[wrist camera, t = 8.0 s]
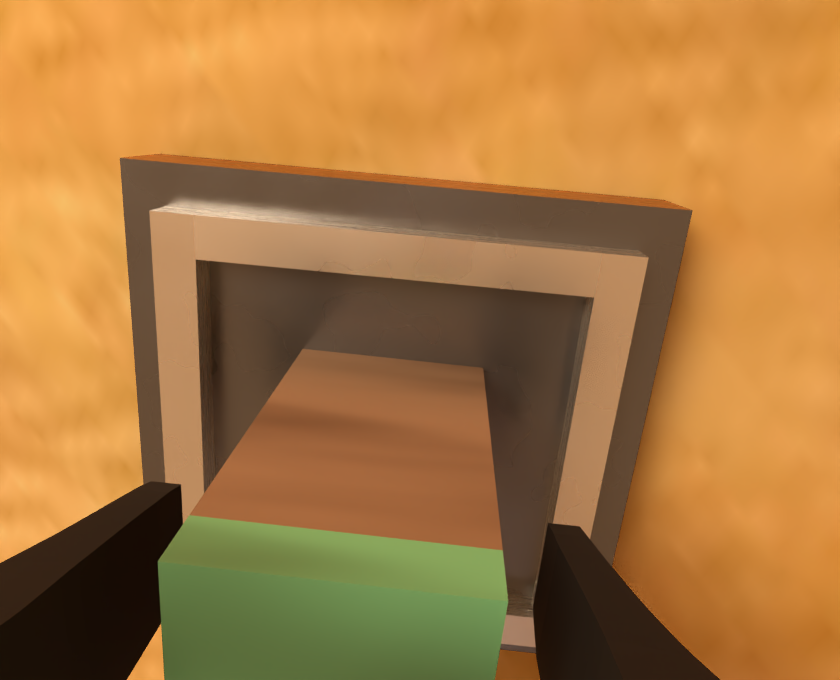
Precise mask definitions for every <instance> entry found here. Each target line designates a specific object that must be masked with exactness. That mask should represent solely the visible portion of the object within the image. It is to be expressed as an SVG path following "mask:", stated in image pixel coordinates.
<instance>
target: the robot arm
mask: <svg viewBox="0 0 840 680" xmlns="http://www.w3.org/2000/svg"><path fill="white" fill-rule="evenodd" d="M182 525H183V513H182V492H181V484H173V483H164V482H154V481H150V482H148V483H146V484H144V485H142V486H140V487H138V488H136V489H134V490H133V491H131V492H129V493H127V494H125V495H124V496H122V497H120V498H118V499H117V500H115V501H113V502H111V503H110V504H108V505H106V506H105V507H103V508H101V509H99V510H98V511H96V512H94V513H92V514H91V515H89V516H87V517H85V518H84V519H82V520H80V521H78V522H77V523H75V524H73V525H71V526H69V527H68V528H66V529H64V530H62V531H61V532H59V533H57V534H55V535H53V536H52V537H50V538H48V539H46V540H44V541H42V542H40V543H38V544H36V545H34V546H32V547H30V548H28V549H27V550H25V551H23V552H21V553H19V554H17V555H15V556H13V557H11V558H9V559H7V560H5V561H4V562H2V563H0V680H127V678H128V676H129V675H130V673H131V672H132V670H133V668H134V667H135V665H136V664H137V662H138V660H139V659H140V657H141V655H142V654H143V652H144V650H145V649H146V647H147V645H148V644H149V642H150V640H151V639H152V637H153V636H154V634H155V632H156V631H157V629H158V627H159V625H160V624H161V610H160V593H159V576H158V560H159V559H160V557H161V556H162V554H163V553H164V551H165V550H166V549H167V547H168V546H169V544H170V543H171V541H172V540H173V538H174V537H175V535H176V534H177V532H178V531H179V529H180V528H181V527H182ZM533 620H534V634H535V645H536V657H537V663H538V669H539V674H540V679H541V680H720V679H719V678H718V677H716V676H715V675H714V674H713V673H712V672H711V671H710V670H709V669H708V668H706V667H705V666H704V665H703V664H702V663H701V662H700V661H699V660H698V659H696V658H695V657H694V656H693V655H692V654H691V653H690V652H689V651H688V650H687V649H686V648H685V647H684V646H683V645H682V644H681V643H680V642H679V641H678V640H677V639H676V638H675V637H674V636H673V635H672V634H671V633H670V632H669V631H668V630H667V629H666V628H665V627H664V626H663V625H662V624H661V623H660V622H659V620H658V619H657V618H656V617H655V616H654V615H653V614H652V613H651V612H650V611H649V610H648V609H647V607H646V606H645V605H644V604H643V603H642V602H641V601H640V600H639V598H638V597H637V596H636V595H635V594H634V593H633V592H632V590H631V589H630V588H629V587H628V586H627V585H626V583H625V582H624V581H623V580H622V579H621V577H620V576H619V575H618V574H617V572H616V571H615V570H614V569H613V567H612V566H611V565H610V564H609V563H608V561H607V560H606V559H605V558H604V556H603V555H602V554H601V552H600V551H599V550H598V549H597V547H596V546H595V545H594V544H593V542H592V541H591V540H590V539H589V537H588V536H587V535H586V534H585V532H584V531H583V530H582V529H581V527H580V526H573V525H563V524H554V523H548V525H547V531H546V536H545V542H544V547H543V553H542V559H541V564H540V570H539V575H538V581H537V586H536V592H535V598H534V603H533Z"/></svg>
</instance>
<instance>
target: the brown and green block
mask: <svg viewBox="0 0 840 680" xmlns="http://www.w3.org/2000/svg"><path fill="white" fill-rule="evenodd" d="M158 576H159V593H160V610H161V627H162V644H163V662H164V679H165V680H495V675H496V670H497V664H498V658H499V652H500V646H501V641H502V635H503V629H504V623H505V617H506V612H507V606H508V594H507V585H506V576H505V567H504V557H503V548H502V539H501V530H500V520H499V511H498V502H497V493H496V483H495V474H494V465H493V456H492V446H491V437H490V428H489V419H488V409H487V400H486V391H485V382H484V372H483V368H480V367H471V366H461V365H452V364H442V363H433V362H423V361H414V360H404V359H395V358H386V357H376V356H367V355H357V354H348V353H338V352H329V351H319V350H310V349H302V351H301V352H300V354H299V355H298V357H297V358H296V360H295V361H294V363H293V364H292V365H291V367H290V368H289V370H288V371H287V373H286V374H285V376H284V377H283V379H282V380H281V382H280V383H279V385H278V386H277V387H276V389H275V390H274V392H273V393H272V395H271V396H270V398H269V399H268V401H267V402H266V404H265V405H264V406H263V408H262V409H261V411H260V412H259V414H258V415H257V417H256V418H255V420H254V421H253V423H252V424H251V426H250V427H249V428H248V430H247V431H246V433H245V434H244V436H243V437H242V439H241V440H240V442H239V443H238V445H237V446H236V447H235V449H234V450H233V452H232V453H231V455H230V456H229V458H228V459H227V461H226V462H225V464H224V465H223V467H222V468H221V469H220V471H219V472H218V474H217V475H216V477H215V478H214V480H213V481H212V483H211V484H210V486H209V487H208V488H207V490H206V491H205V493H204V494H203V496H202V497H201V499H200V500H199V502H198V503H197V505H196V506H195V508H194V509H193V510H192V512H191V513H190V515H189V516H188V518H187V519H186V521H185V522H184V524H183V525H182V527H181V528H180V529H179V531H178V532H177V534H176V535H175V537H174V538H173V540H172V541H171V543H170V544H169V546H168V547H167V549H166V550H165V551H164V553H163V554H162V556H161V557H160V559H159V560H158Z"/></svg>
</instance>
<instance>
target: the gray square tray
mask: <svg viewBox="0 0 840 680" xmlns="http://www.w3.org/2000/svg"><path fill="white" fill-rule="evenodd" d="M120 165H121V179H122V193H123V207H124V220H125V234H126V248H127V262H128V275H129V289H130V303H131V317H132V330H133V344H134V358H135V372H136V385H137V399H138V413H139V427H140V441H141V454H142V468H143V482H144V484H146V483H148V482H150V481H154V482H164V483H173V484H181V492H182V513H183V524H184V522H185V521H186V519H187V518H188V516H189V515H190V513H191V512H192V510H193V509H194V508H195V506H196V505H197V503H198V502H199V500H200V499H201V497H202V496H203V494H204V493H205V491H206V490H207V488H208V487H209V486H210V484H211V483H212V481H213V480H214V478H215V477H216V475H217V474H218V472H219V471H220V469H221V468H222V467H223V465H224V464H225V462H226V461H227V459H228V458H229V456H230V455H231V453H232V452H233V450H234V449H235V447H236V446H237V445H238V443H239V442H240V440H241V439H242V437H243V436H244V434H245V433H246V431H247V430H248V428H249V427H250V426H251V424H252V423H253V421H254V420H255V418H256V417H257V415H258V414H259V412H260V411H261V409H262V408H263V406H264V405H265V404H266V402H267V401H268V399H269V398H270V396H271V395H272V393H273V392H274V390H275V389H276V387H277V386H278V385H279V383H280V382H281V380H282V379H283V377H284V376H285V374H286V373H287V371H288V370H289V368H290V367H291V365H292V364H293V363H294V361H295V360H296V358H297V357H298V355H299V354H300V352H301V351H302V349H310V350H319V351H329V352H338V353H348V354H357V355H367V356H376V357H386V358H395V359H404V360H414V361H423V362H433V363H442V364H452V365H461V366H471V367H480V368H483V372H484V382H485V391H486V400H487V409H488V419H489V428H490V437H491V446H492V456H493V465H494V474H495V483H496V493H497V502H498V511H499V520H500V530H501V539H502V548H503V557H504V567H505V576H506V585H507V594H508V606H507V612H506V617H505V623H504V629H503V635H502V641H501V646H500V649H502V650H511V651H520V652H529V653H536V645H535V634H534V620H533V603H534V598H535V592H536V586H537V581H538V575H539V570H540V564H541V559H542V553H543V547H544V542H545V536H546V531H547V525H548V523H554V524H563V525H573V526H580V527H581V529H582V530H583V531H584V532H585V534H586V535H587V536H588V537H589V539H590V540H591V541H592V542H593V544H594V545H595V546H596V547H597V549H598V550H599V551H600V552H601V554H602V555H603V556H604V558H605V559H606V560H607V561H608V563H609V564H610V565H611V566H612V564H613V559H614V555H615V550H616V546H617V542H618V537H619V533H620V528H621V524H622V520H623V515H624V511H625V506H626V502H627V497H628V493H629V489H630V484H631V480H632V475H633V471H634V466H635V462H636V458H637V453H638V449H639V444H640V440H641V436H642V431H643V427H644V422H645V418H646V413H647V409H648V405H649V400H650V396H651V391H652V387H653V383H654V378H655V374H656V369H657V365H658V360H659V356H660V352H661V347H662V343H663V338H664V334H665V330H666V325H667V321H668V316H669V312H670V307H671V303H672V299H673V294H674V290H675V285H676V281H677V277H678V272H679V268H680V263H681V259H682V254H683V250H684V246H685V241H686V237H687V232H688V228H689V224H690V219H691V215H692V210H690V209H687V208H684V207H682V206H679V205H676V204H673V203H671V202H668V201H665V200H657V199H647V198H636V197H625V196H614V195H603V194H592V193H581V192H570V191H559V190H548V189H537V188H526V187H515V186H504V185H493V184H483V183H472V182H461V181H450V180H439V179H428V178H417V177H406V176H395V175H384V174H373V173H362V172H351V171H340V170H329V169H319V168H308V167H297V166H286V165H275V164H264V163H253V162H242V161H231V160H220V159H209V158H198V157H187V156H176V155H165V154H154V155H144V156H134V157H124V158H120Z"/></svg>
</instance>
